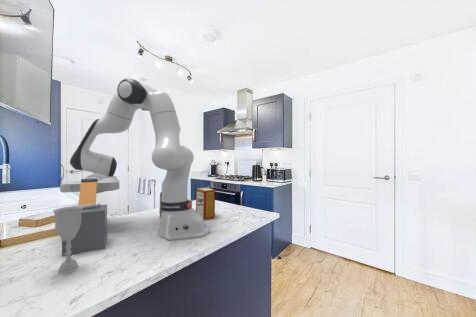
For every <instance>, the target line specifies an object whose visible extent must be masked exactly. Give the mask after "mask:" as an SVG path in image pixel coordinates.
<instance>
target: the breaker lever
mask: <svg viewBox="0 0 476 317" xmlns="http://www.w3.org/2000/svg"><path fill="white" fill-rule="evenodd" d="M80 181H81V186H80V192H79V195H78V196H79V197H78V204H77V206H83V209H87V208H95V207H96V205H97V204H96V203H97V202H96V201H97V200H96V199H97V194H96V192H97V178H96V179H85V178H81V180H80Z"/></svg>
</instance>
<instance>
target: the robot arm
mask: <svg viewBox="0 0 476 317" xmlns="http://www.w3.org/2000/svg"><path fill="white" fill-rule="evenodd" d="M116 90H117V92H116V93H114V95H113V97H112V98H111V100H110V102H109V104H108V107H107V109H106V112H105V114H104V115H103V116H102V117H100V118H97V119H94V121H93V122H92V123H91V125H90V126H89V128H88V130H87V131H86V132H85V134H84V136H83V138H82V139H81V141H80V143H79V145H78V146H77V148H76V150H75V151H74V152H73V153H72V154H71V157H70V159H69V164H70V166H71V167H72V168H73V169H74V170H75V171H83V172H84V171H85V172H88V173H90V174H89V175H87V176H86V177H85V178H84V179H96V178H97V192H96V195H97V194H101V193H104V192H110V191H111V192H112V191H117V190H119V189H120V179H119V178H117V175H116V176H115V173H116V170H117V164H118V162H117V160H116V159H115V157H114V156H110V155H108V154H102V153H98V152H95V151H91V149H90V148H91V147H92V145H93V143H94V141H95V140H96V138H97V136H99V135H103V134H121V133H124V132H125V131H128V129H129V128H130V127H131V124H132V121H133V118H134V116H135V113H136V111H137V110H140V109H141V110H142V111H147V112H148V111H149V115H150V118H151V123H152V127H153V131H154V135H155V146H154V149H153V151H152V154H151V161H152V163H153V165H154V166H155V167H156V168H158V169H160V170H164V171H166V173H165V177H164V179H163V181H162V183H161V191H162V201H161V204H160V203H159V213H160V212H161V218H160V219H159V220H160V221H159V227H158V230H157V235H158V236H159V237H161V238H164V239H165V240H167V241H175V240H184V239H185V240H186V239H193V238H203V237H205V236H207V235H208V234H209V233H210V232H209V231H210V226H209V225H208V224H206V223H205V220H204V219H203V216H202V215H201V214H200V213H198V212H197V211H196V209H194V208H193V201H192V200H190V199H188V191H189V190H188V184H189V177H190V172H191V167H192V164H193V162H194V159H195V157H194V156H195V155H194V153H193V151H192V150H191V149H190V148H188V147H187V146H184V145H181V143H180V133H181V131H182V130H181V126H180V122H179V119H178V118H179V117H178V115H177V111H176V109H175V106H174V103H173V101H172V98H171V97H170V96H171V95H169V94H168V93H167V92H166V91H162V90H156V89H154V88H152V87H151V86H149V85H148V84H145V83H143V82H141V81H138V80H136V79H132V78H124V79H122V80H121V81H120V82H119V83H118V85H117V89H116ZM80 186H81V180H78V181H77V180H75V181H73V180H72V181H65V182H61V183H60V185H59V191H60V193H62V194H63V193H80Z"/></svg>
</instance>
